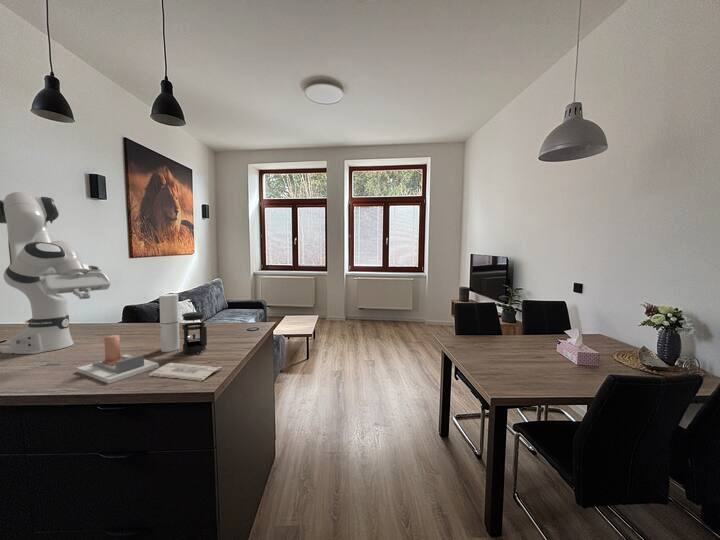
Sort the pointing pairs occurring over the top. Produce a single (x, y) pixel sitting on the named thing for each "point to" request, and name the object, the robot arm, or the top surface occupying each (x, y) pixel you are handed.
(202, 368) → the newspaper
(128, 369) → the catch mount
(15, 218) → the robot arm
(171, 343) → the cylindrical container
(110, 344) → the knob plunger
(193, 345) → the french press
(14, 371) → the top surface
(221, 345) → the top surface
